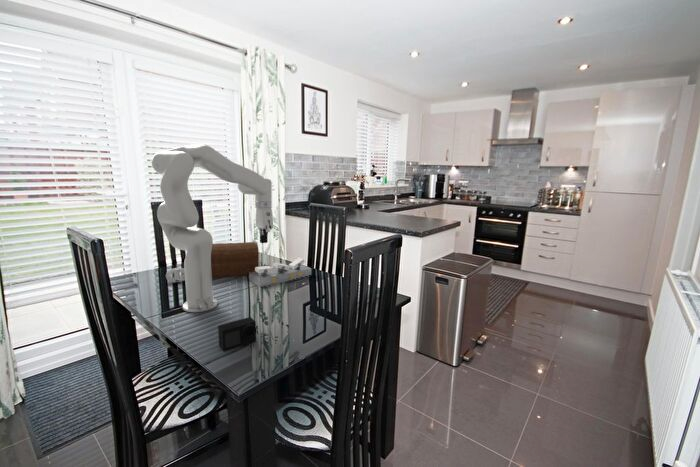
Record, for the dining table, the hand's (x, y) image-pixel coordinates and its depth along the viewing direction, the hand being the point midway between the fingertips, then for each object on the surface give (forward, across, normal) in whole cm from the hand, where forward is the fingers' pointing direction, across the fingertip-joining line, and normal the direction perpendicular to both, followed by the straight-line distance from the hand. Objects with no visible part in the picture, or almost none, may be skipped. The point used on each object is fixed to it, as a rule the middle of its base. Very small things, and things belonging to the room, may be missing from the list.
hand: (263, 242), depth 153 cm
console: (+19, 0, -9) cm, 22 cm away
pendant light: (+20, +24, +34) cm, 46 cm away
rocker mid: (+13, 0, -9) cm, 16 cm away
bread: (+20, +24, +9) cm, 32 cm away
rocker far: (+13, 0, -19) cm, 23 cm away
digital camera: (+21, -50, +32) cm, 63 cm away
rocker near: (+14, 0, 0) cm, 14 cm away
